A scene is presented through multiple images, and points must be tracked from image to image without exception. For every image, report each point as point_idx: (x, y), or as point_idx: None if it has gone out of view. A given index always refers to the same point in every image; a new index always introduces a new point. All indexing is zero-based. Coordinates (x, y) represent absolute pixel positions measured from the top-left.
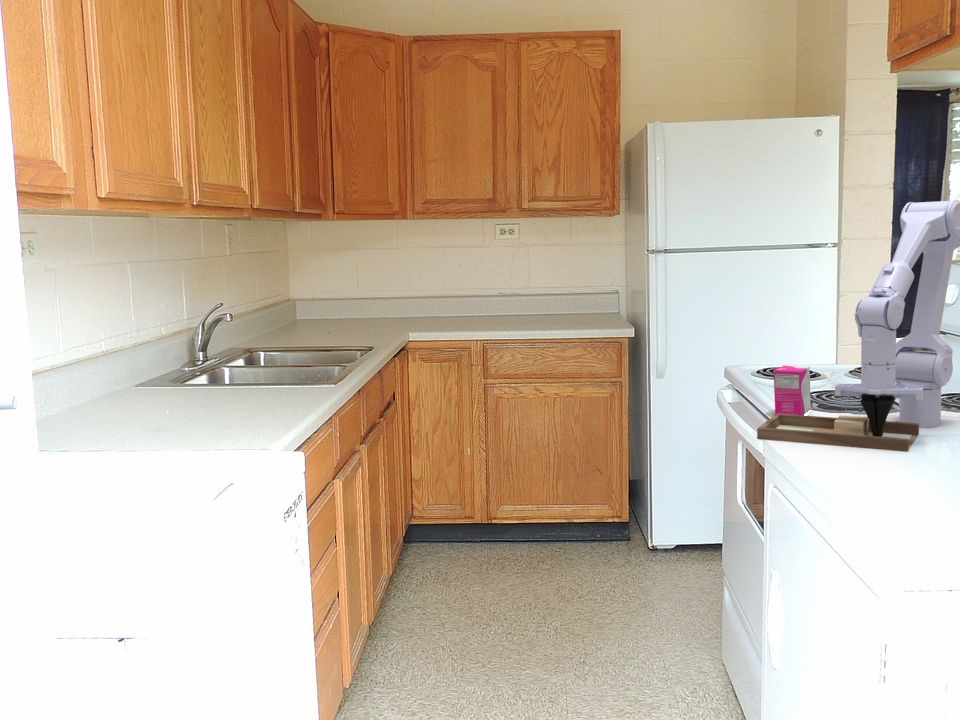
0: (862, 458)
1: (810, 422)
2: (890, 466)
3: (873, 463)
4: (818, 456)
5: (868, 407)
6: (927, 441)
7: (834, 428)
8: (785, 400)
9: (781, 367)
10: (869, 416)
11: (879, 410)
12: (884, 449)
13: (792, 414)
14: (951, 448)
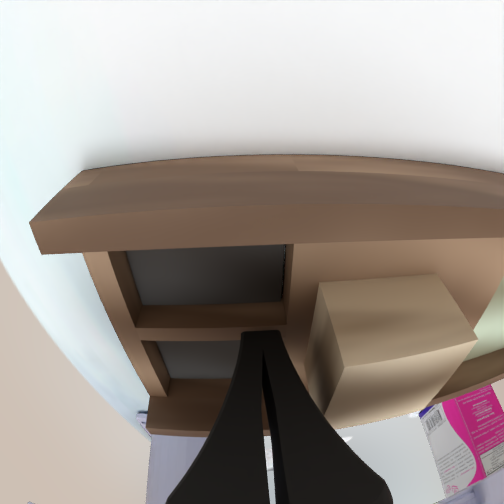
0: (292, 105)
1: (466, 372)
2: (118, 16)
3: (213, 27)
4: (476, 97)
5: (331, 476)
6: (141, 387)
7: (459, 310)
8: (491, 420)
9: None
10: (313, 420)
11: (248, 468)
12: (176, 174)
13: (470, 399)
14: (60, 348)
